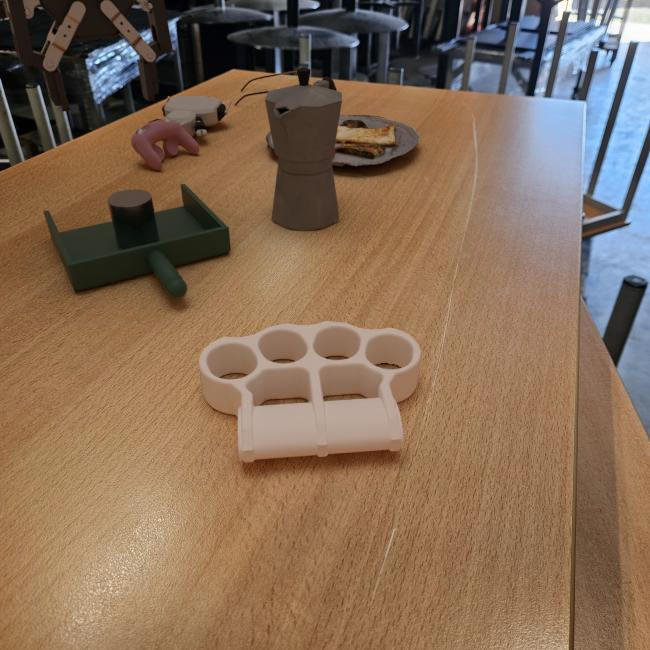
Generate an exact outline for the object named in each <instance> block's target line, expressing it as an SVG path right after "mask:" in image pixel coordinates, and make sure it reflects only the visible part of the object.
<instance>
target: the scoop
mask: <svg viewBox="0 0 650 650" xmlns="http://www.w3.org/2000/svg"><path fill="white" fill-rule="evenodd" d="M180 191H181V192H180V193H181V198H182V199H181V200H182V205H181V206H177V207H172V208H167V209H162V210H158V211H154V212H155V217H156V223H157V229H158V234H159V241H158V242H154V243H150V244H146V245H142V246H137V247H133V248H129V249H125V250H124V249H121V248H120V247H119V246H118V245H117V241H116V237H115V233H114V228H113V224H112V220H111V221H107V222H106V221H105V222H101V223H96V224H92V225H88V226H83V227H78V228H72V229H68V230H64V231H59V230H58V227H57V224H56V223H55V221H54V219H53V217H52V215H51V212H50V210H48V209H47V210H44V211H43V212H42V213H43V216H44V218H45V222H46V225H47V228H48V232H49V235H50V238H51V241H52V243H53V245H54V247H55V250H56V252H57V255H58V256H59V259H60V261H61V263H62V266H63V269H64V270H65V272H66V275H67V277H68V279H69V282H70V284H71V286H72V289H73V291H74V292H75V293H78V292H81V291H84V290H89V289H93V288H96V287H100V286H101V287H102V286H105V285H108V284H112V283H117V282H120V281H124V280H129V279H131V278H135V277H140V276H144V275H147V274H151V273H154V275H155V276H156V278H157V280H158V281H159V282H160V284H161V286H162V287H163V288H164V290H165V291H166V293H167V294H168V295H169V296H170V297H171V298H172V299H181V298H184V296H185V295H187V291H188V284H187V283H186V281H185V280H184V279H183V277H182V275H181V274H180V273H179V272H178V271H177V269H176V268H175V267H178V266H183V265H187V264H190V263H194V262H198V261H202V260H207V259H210V258H214V257H217V256H222V255H226V254H229V253H230V252H232V249H231V248H232V247H231V238H230V237H231V236H230V229H229V226H228V225H227V224H226V223H225V222H224V221H223V220H222V219H221V218H220V217H219V216H218V215H217V214H216V213H215V212H214V211H213V210H212V209H211V208H210V207H209V206H208V205H207V204H206V203H205V202H204V201H203V200H202V199H201V198H200V197H199V196H198V195H197V194H196V193H195V192H194V191H193V190H192V189H191V188H190V187H189V186H188V185H187V184H185V183H180Z"/></svg>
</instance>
